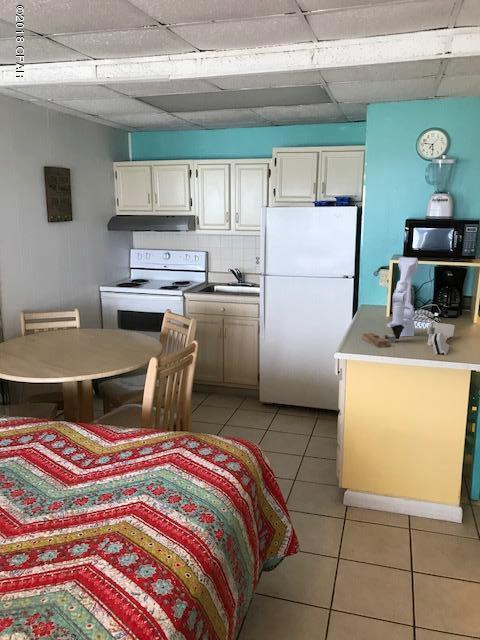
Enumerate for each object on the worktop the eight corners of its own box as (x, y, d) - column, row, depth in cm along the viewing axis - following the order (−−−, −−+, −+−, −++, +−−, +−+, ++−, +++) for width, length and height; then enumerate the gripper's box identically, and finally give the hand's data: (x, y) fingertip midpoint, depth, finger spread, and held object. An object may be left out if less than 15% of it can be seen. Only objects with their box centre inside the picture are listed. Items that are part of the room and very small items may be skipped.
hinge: (445, 355, 261) (440, 336, 261) (436, 357, 263) (430, 338, 263) (449, 347, 275) (444, 329, 275) (440, 349, 278) (435, 331, 277)
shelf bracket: (423, 345, 282) (427, 321, 281) (443, 345, 299) (447, 324, 298) (433, 346, 278) (437, 323, 277) (452, 347, 296) (456, 325, 295)
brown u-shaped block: (373, 338, 295) (373, 333, 294) (390, 346, 278) (390, 340, 277) (361, 339, 293) (362, 333, 292) (377, 347, 276) (378, 341, 275)
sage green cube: (391, 340, 290) (391, 333, 289) (394, 342, 286) (395, 335, 285) (384, 341, 289) (384, 334, 288) (388, 343, 285) (388, 335, 284)
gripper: (401, 311, 292) (400, 335, 295) (383, 314, 285) (381, 338, 288) (412, 313, 287) (410, 338, 289) (393, 316, 279) (392, 341, 282)
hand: (396, 338), depth 288 cm, fingers closed
